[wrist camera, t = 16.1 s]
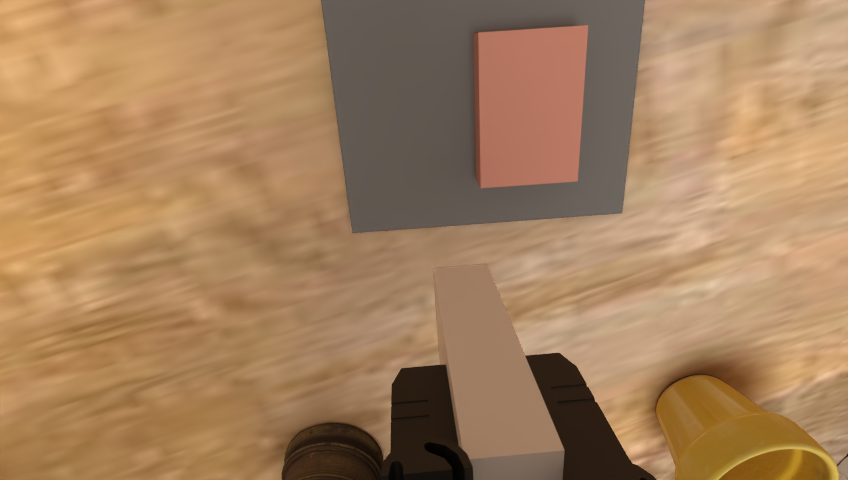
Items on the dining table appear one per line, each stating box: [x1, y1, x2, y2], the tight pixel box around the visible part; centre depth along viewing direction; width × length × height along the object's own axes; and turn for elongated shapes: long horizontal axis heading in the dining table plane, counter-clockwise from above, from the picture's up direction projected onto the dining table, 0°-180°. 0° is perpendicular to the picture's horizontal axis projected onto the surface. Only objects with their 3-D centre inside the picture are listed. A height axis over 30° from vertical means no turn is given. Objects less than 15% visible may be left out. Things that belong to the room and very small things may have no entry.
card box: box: [473, 25, 588, 188], centre depth 30 cm, size 2×10×6 cm
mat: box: [321, 0, 645, 233], centre depth 32 cm, size 20×16×1 cm
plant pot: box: [656, 375, 839, 480], centre depth 38 cm, size 10×10×10 cm
